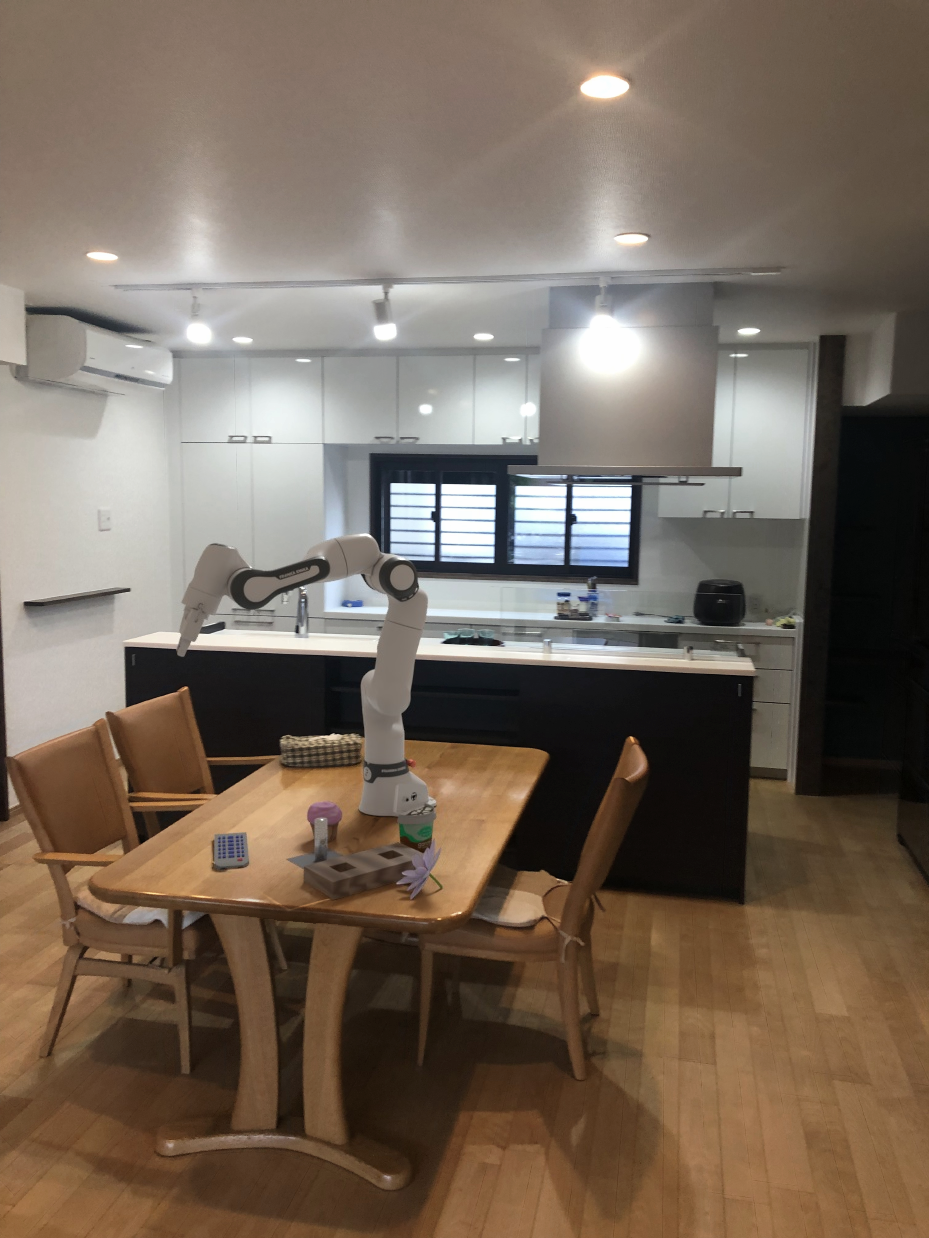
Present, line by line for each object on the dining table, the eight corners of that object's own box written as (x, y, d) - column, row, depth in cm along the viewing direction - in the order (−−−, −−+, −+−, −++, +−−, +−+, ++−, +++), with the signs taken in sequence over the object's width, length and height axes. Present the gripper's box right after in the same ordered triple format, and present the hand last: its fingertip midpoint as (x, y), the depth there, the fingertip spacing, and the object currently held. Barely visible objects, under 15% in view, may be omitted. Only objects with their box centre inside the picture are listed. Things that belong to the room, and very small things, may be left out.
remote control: (246, 839, 244) (246, 831, 244) (249, 870, 222) (249, 861, 222) (214, 841, 242) (214, 833, 242) (214, 872, 220) (213, 863, 220)
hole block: (397, 858, 230) (398, 841, 230) (428, 872, 221) (428, 855, 221) (303, 883, 214) (303, 866, 213) (332, 900, 204) (332, 882, 204)
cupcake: (331, 847, 237) (331, 808, 236) (300, 843, 240) (300, 804, 239) (347, 836, 245) (347, 798, 244) (317, 832, 248) (317, 795, 247)
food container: (417, 859, 229) (418, 819, 228) (396, 854, 233) (397, 814, 232) (445, 845, 240) (446, 806, 239) (425, 840, 243) (425, 802, 242)
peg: (323, 857, 229) (323, 816, 228) (329, 860, 227) (329, 819, 226) (312, 860, 227) (312, 819, 226) (318, 863, 225) (318, 822, 224)
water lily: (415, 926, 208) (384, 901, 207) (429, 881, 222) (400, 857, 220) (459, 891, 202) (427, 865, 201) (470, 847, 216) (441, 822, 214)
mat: (329, 849, 235) (329, 848, 235) (356, 863, 226) (356, 862, 226) (286, 860, 228) (286, 858, 228) (312, 875, 218) (312, 873, 218)
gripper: (215, 609, 232) (193, 662, 232) (210, 605, 252) (190, 654, 251) (190, 600, 230) (168, 653, 230) (187, 596, 250) (166, 645, 249)
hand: (179, 654), depth 241 cm, fingers open, 8 cm apart
